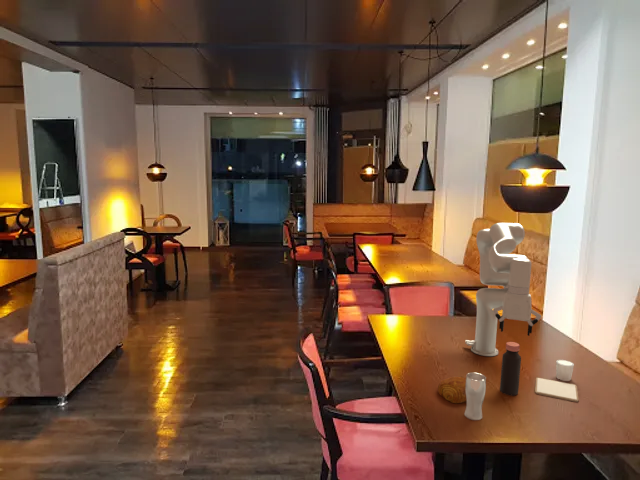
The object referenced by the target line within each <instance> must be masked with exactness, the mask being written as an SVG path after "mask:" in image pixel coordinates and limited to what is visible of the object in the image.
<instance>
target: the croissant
mask: <svg viewBox="0 0 640 480" xmlns="http://www.w3.org/2000/svg"><path fill="white" fill-rule="evenodd" d="M439 382H440V383H439V384H438V388H437V391H438V394H439V395H440V396H441V397H443V398H444V400H447V401H449V402H450V403H454V404H460V403H466V395H465V383H466V377H463V376H450V377H446V378H443V379H442V380H440V381H439Z"/></svg>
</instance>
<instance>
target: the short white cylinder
mask: <svg viewBox="0 0 640 480" xmlns="http://www.w3.org/2000/svg"><path fill="white" fill-rule="evenodd" d="M574 366H575V364H574V362H572V361H570V360H567V359H566V360H565V359H557V360H556V361H555V368H556V369H555V374H556V375H555V376H556V378H557V380H559V379H560V381H562V382H570V381H572V376H573V372H574V368H575V367H574Z"/></svg>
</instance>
